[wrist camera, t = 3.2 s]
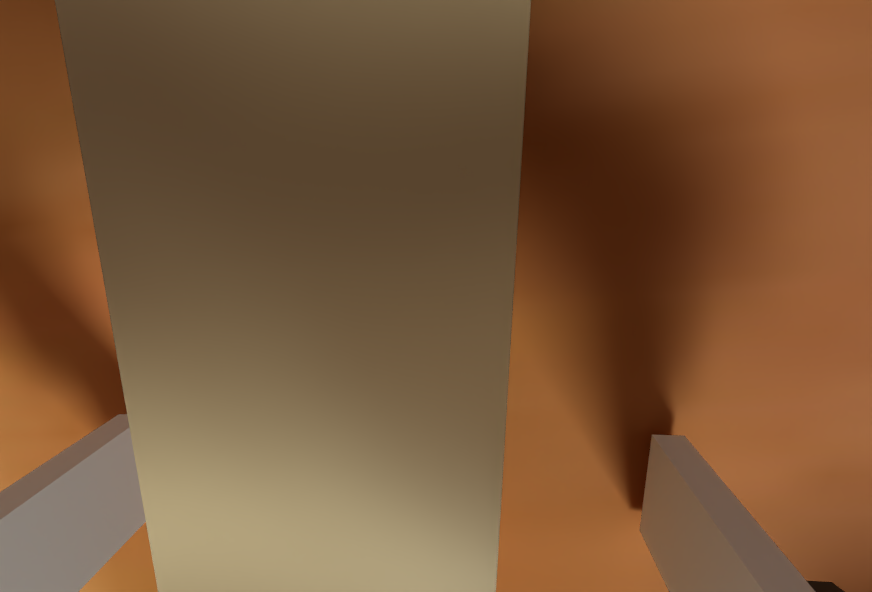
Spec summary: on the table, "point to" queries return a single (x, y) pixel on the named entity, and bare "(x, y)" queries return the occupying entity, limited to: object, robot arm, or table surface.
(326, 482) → the rail
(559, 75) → the table surface
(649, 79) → the table surface
